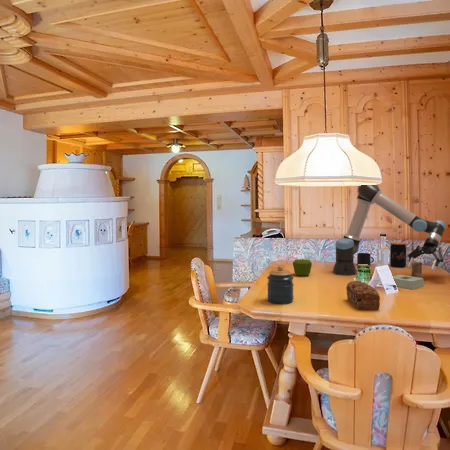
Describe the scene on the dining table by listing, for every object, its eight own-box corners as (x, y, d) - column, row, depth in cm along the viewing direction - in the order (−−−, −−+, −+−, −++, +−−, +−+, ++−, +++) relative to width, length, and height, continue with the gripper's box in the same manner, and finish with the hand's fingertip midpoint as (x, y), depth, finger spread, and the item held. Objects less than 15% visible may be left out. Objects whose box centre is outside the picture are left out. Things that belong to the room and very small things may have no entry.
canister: (293, 297, 184) (293, 263, 183) (293, 304, 171) (292, 268, 170) (268, 296, 187) (268, 263, 185) (265, 303, 174) (265, 267, 173)
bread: (345, 299, 180) (346, 279, 180) (367, 299, 179) (367, 279, 179) (356, 310, 162) (356, 288, 161) (380, 310, 161) (381, 288, 160)
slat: (411, 282, 214) (411, 262, 213) (416, 281, 218) (416, 261, 217) (416, 283, 212) (417, 263, 211) (421, 282, 215) (421, 262, 215)
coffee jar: (390, 267, 265) (390, 243, 263) (389, 264, 274) (390, 241, 273) (406, 268, 260) (407, 243, 259) (405, 265, 270) (405, 242, 269)
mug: (373, 267, 267) (373, 255, 266) (356, 265, 272) (356, 254, 272) (374, 265, 275) (374, 253, 274) (358, 264, 281) (358, 252, 280)
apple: (289, 274, 244) (289, 257, 243) (305, 272, 248) (305, 256, 247) (298, 277, 232) (298, 260, 232) (315, 276, 236) (315, 259, 235)
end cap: (388, 285, 209) (388, 277, 208) (399, 281, 216) (399, 274, 216) (412, 289, 198) (412, 281, 197) (423, 286, 205) (423, 278, 205)
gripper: (456, 247, 215) (445, 275, 207) (413, 243, 235) (402, 269, 227) (452, 239, 211) (441, 267, 203) (410, 236, 231) (398, 262, 223)
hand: (420, 268), depth 215 cm, fingers open, 13 cm apart
